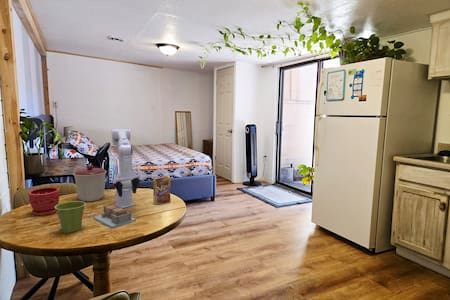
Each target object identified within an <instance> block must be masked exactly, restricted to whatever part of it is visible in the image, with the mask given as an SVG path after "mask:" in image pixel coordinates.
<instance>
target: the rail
mask: <svg viewBox="0 0 450 300" xmlns="http://www.w3.org/2000/svg"><path fill="white" fill-rule="evenodd" d="M127 212H128V211H127V209H125V208H121V207H118V206H116V205H114V204H112V203H111V204H106V205H103V213H105V217H107V218H109V219H111V215H112V214H113V215H116V216H120V215H124V214H127Z"/></svg>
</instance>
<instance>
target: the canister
mask: <svg viewBox="0 0 450 300" xmlns="http://www.w3.org/2000/svg"><path fill="white" fill-rule="evenodd" d="M107 172H108V171H107V169H106V170H105V169H104V168H101V167H94V165H93V164H87V165H86V168H82V169H77V170H76V171H75V172H73V173H72V175H73V176H74V182H75V188H76V193H77V197H78V198H79V200H80V201H82V202H86V203H87V202H95V201H100V200H101V199H103V197H104V196H105V189H106V188H105V186H106V174H107Z"/></svg>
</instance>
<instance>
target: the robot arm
mask: <svg viewBox="0 0 450 300" xmlns="http://www.w3.org/2000/svg"><path fill="white" fill-rule="evenodd" d="M131 135H132V134H131V129H130V128H112V129H111V141H112V145H113V146H115V147H116V149H117V155H118V156H117V157H118V169H119V172H118V173H117V174H115V177H114V178H112V179H111V183H112V184H113V185H114V188H115V193H114V194H115V195H114V199H115V203H114V204H113V205H115V206H117V207H120V208H122V209H125V208H129V207H133V206H135V205H136V203H134V202H133V194H136V193H137V190H138V186H139V184H140V182H141V179H142V178H141V174H133V172H134V171H133V156H134V155H133V154H134V148H133V147H134V146H133V144H132V143H131Z"/></svg>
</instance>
